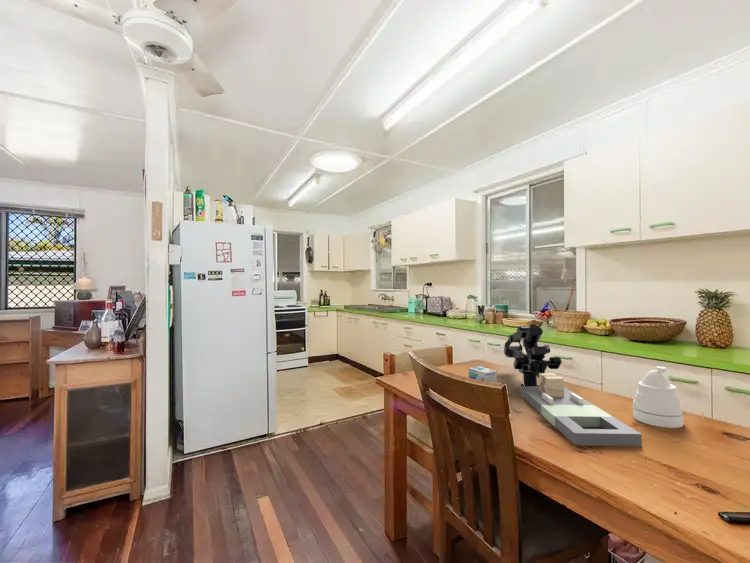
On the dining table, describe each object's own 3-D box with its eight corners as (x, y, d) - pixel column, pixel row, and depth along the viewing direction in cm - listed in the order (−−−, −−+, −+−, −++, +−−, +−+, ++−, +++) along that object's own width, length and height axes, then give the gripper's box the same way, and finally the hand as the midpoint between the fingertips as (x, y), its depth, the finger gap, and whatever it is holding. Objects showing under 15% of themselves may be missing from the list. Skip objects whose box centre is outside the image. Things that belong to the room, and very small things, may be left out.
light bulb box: (468, 392, 149) (467, 367, 149) (480, 389, 151) (479, 365, 152) (486, 398, 139) (485, 372, 139) (498, 396, 142) (497, 370, 142)
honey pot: (692, 423, 109) (689, 368, 110) (668, 430, 104) (665, 372, 105) (647, 411, 121) (645, 360, 121) (624, 416, 116) (622, 364, 117)
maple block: (539, 390, 136) (538, 373, 137) (555, 390, 136) (554, 373, 136) (547, 396, 128) (547, 378, 129) (564, 396, 128) (563, 378, 128)
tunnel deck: (519, 394, 143) (519, 381, 143) (563, 394, 141) (563, 381, 141) (575, 445, 96) (574, 426, 96) (642, 446, 94) (641, 426, 94)
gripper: (514, 338, 147) (524, 370, 135) (558, 338, 145) (572, 369, 134) (509, 353, 154) (518, 384, 143) (551, 353, 153) (564, 384, 141)
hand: (543, 380), depth 140 cm, fingers closed
